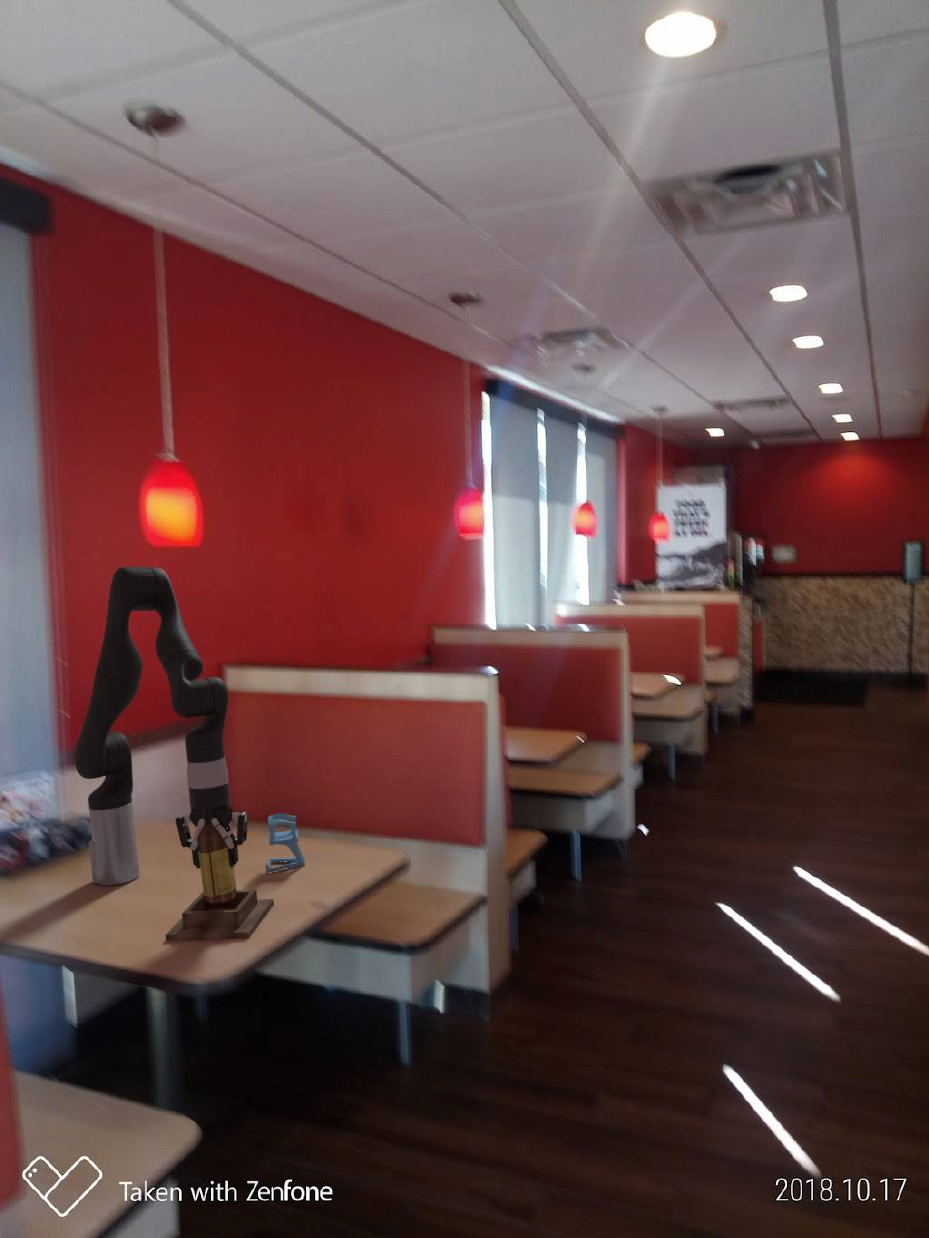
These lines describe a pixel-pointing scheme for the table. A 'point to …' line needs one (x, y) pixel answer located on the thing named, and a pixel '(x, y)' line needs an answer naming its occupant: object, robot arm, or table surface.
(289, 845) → the chair
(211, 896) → the sauce bottle
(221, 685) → the robot arm
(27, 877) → the table surface
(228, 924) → the bottle caddy
